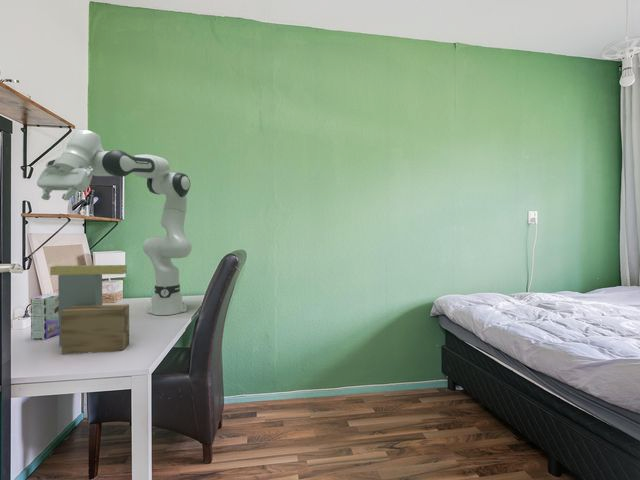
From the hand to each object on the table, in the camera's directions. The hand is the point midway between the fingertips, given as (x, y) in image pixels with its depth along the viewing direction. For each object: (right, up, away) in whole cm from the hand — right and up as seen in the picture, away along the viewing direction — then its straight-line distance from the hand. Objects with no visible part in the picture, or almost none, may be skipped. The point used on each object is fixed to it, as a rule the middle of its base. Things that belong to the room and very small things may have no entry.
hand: (54, 199), depth 118 cm
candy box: (-15, -53, +18) cm, 58 cm away
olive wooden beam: (+6, -27, +9) cm, 29 cm away
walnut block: (+13, -53, +3) cm, 55 cm away
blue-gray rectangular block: (+3, -53, +9) cm, 54 cm away
